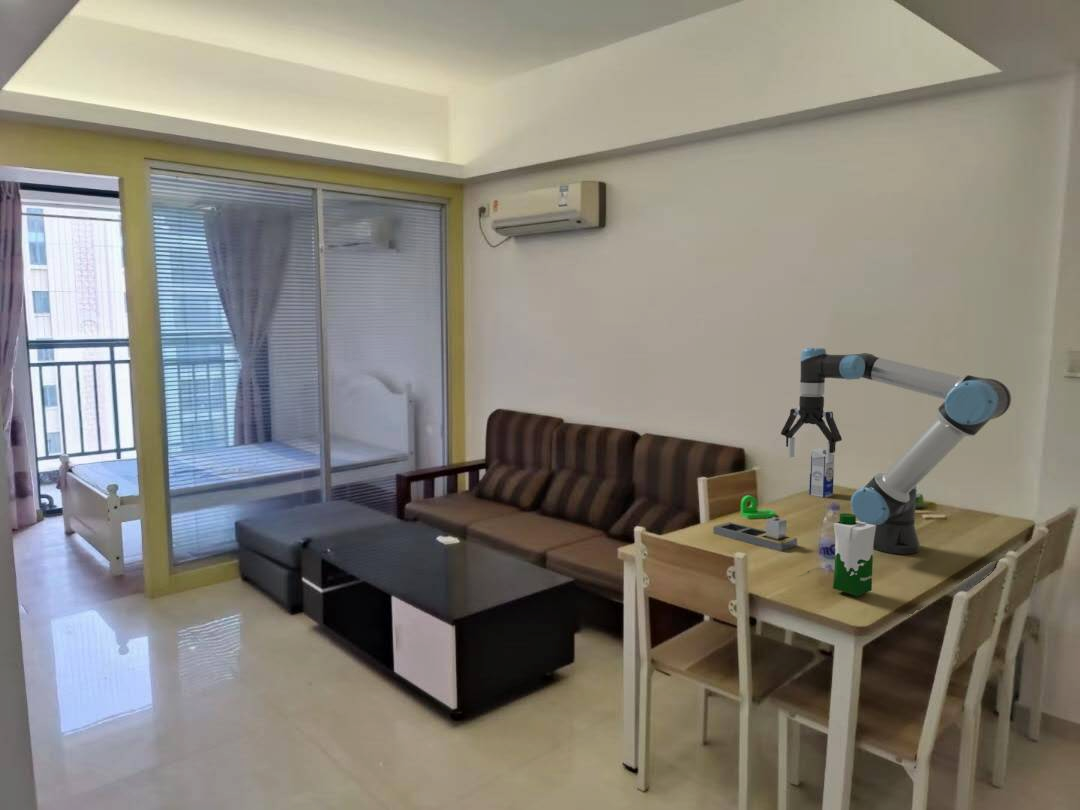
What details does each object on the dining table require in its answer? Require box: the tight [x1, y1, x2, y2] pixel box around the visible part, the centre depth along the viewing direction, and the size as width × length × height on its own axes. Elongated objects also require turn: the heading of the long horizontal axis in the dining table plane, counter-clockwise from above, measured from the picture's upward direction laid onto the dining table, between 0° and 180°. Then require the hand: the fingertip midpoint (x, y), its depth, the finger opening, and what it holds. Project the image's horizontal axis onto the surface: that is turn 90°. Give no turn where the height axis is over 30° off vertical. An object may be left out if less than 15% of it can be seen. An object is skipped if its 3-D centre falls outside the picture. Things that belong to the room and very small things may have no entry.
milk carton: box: [808, 447, 835, 499], centre depth 301 cm, size 7×7×20 cm
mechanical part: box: [740, 494, 776, 520], centre depth 271 cm, size 12×6×8 cm, turn 100°
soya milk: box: [832, 513, 876, 597], centre depth 195 cm, size 9×9×20 cm
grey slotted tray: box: [712, 521, 798, 552], centre depth 243 cm, size 26×9×3 cm, turn 40°
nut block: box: [765, 516, 787, 541], centre depth 236 cm, size 4×4×8 cm
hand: (809, 459), depth 240 cm, fingers open, 13 cm apart
